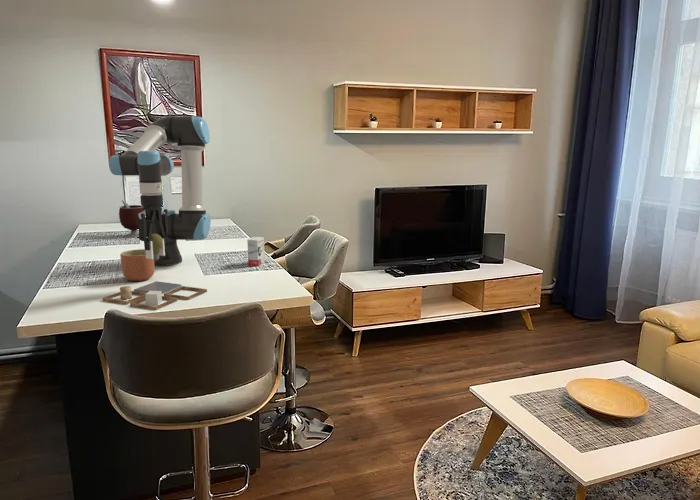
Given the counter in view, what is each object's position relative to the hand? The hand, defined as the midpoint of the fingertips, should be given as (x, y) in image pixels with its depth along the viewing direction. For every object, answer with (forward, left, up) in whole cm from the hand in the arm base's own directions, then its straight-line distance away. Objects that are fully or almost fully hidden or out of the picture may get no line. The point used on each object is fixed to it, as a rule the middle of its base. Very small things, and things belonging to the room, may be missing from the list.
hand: (155, 256), depth 194 cm
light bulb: (0, 0, -2) cm, 2 cm away
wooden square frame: (-2, -14, -12) cm, 19 cm away
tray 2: (+11, -15, -12) cm, 22 cm away
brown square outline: (+14, -2, -12) cm, 19 cm away
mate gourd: (-84, +79, -13) cm, 116 cm away
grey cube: (+11, -15, -12) cm, 22 cm away
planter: (-16, +8, -13) cm, 22 cm away
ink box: (+14, +48, -13) cm, 52 cm away
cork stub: (-2, -14, -12) cm, 19 cm away
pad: (0, 0, -12) cm, 12 cm away
